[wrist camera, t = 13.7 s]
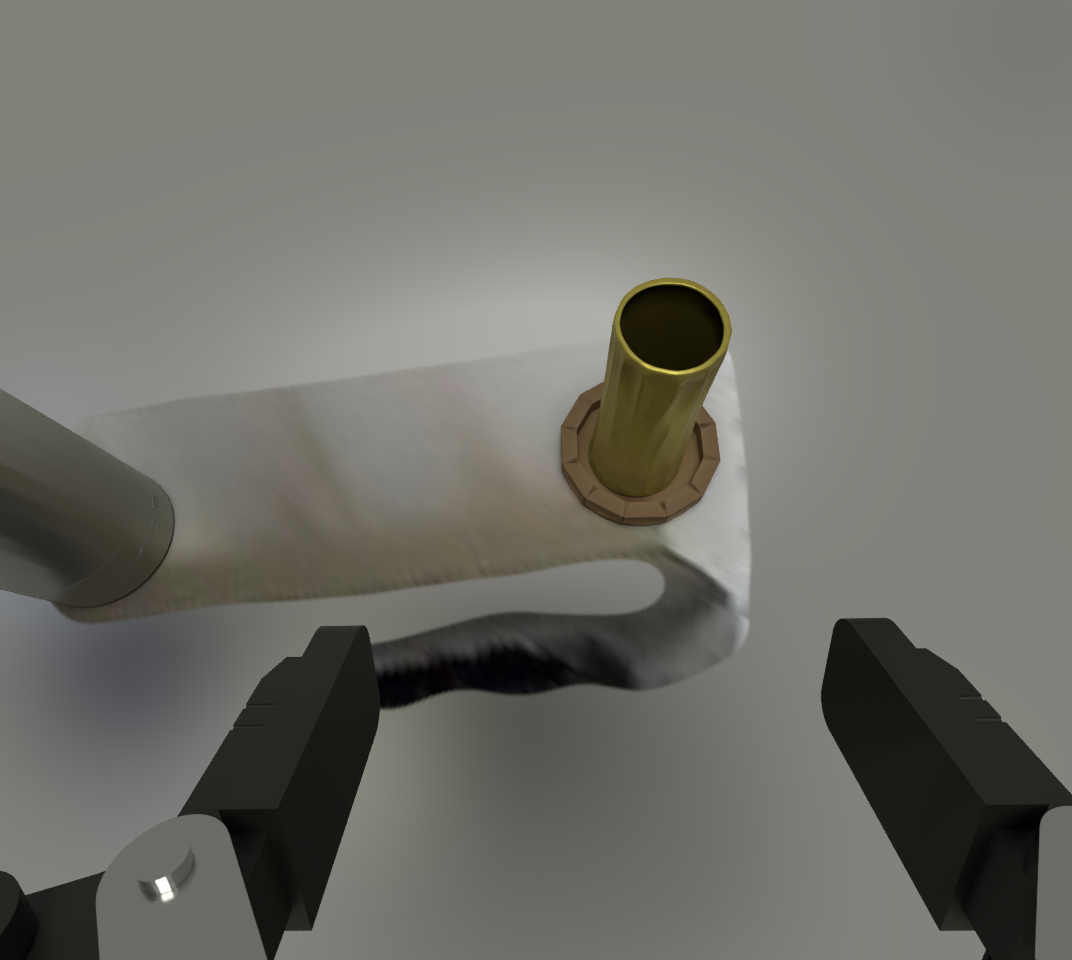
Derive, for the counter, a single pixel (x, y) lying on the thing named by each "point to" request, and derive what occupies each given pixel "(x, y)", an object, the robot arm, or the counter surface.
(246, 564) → the counter surface
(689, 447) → the round tray
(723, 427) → the counter surface
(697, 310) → the vase
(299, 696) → the robot arm
